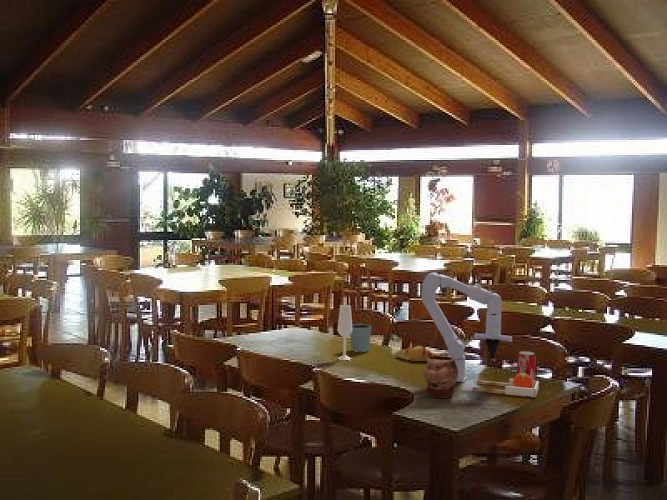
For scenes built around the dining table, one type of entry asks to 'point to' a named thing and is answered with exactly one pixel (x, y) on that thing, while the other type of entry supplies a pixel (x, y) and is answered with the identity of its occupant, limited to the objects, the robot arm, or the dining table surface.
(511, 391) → the white arch
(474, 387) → the lane rails
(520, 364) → the soda can
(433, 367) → the decorative planter
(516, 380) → the clementine
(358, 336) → the drinking glass
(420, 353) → the croissant
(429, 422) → the dining table surface
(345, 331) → the champagne flute
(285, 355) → the dining table surface
